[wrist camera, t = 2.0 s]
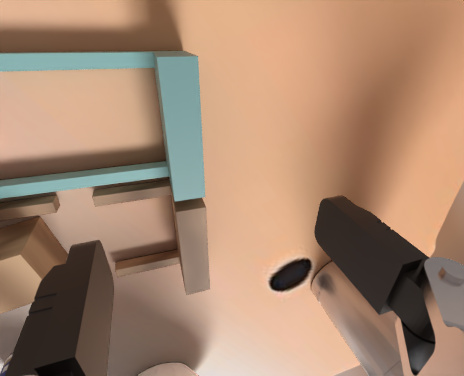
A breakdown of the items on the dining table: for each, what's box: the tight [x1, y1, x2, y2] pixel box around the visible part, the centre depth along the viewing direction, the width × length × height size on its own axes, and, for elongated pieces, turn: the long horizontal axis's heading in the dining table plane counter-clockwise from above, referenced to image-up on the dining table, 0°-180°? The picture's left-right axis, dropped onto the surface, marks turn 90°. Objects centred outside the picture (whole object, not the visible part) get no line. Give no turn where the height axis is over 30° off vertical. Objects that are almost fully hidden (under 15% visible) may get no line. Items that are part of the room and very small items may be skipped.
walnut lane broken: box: [0, 180, 210, 295], centre depth 24 cm, size 20×10×6 cm, turn 90°
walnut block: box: [0, 217, 68, 314], centre depth 23 cm, size 5×5×5 cm
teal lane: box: [0, 51, 205, 202], centre depth 18 cm, size 22×10×6 cm, turn 90°
